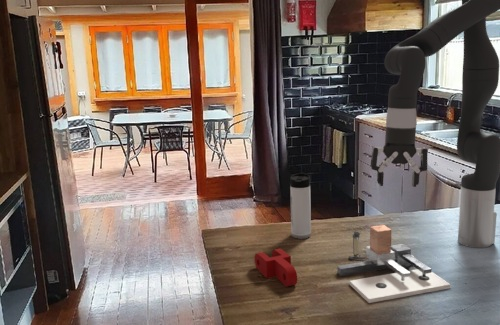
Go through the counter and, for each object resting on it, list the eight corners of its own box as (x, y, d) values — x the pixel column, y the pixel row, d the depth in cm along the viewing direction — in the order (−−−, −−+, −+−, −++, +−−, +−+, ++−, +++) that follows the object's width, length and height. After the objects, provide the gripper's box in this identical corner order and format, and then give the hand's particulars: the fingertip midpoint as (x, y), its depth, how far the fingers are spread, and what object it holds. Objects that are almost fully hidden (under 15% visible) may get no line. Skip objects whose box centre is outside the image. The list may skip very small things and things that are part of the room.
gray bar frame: (408, 259, 137) (408, 242, 136) (441, 281, 123) (442, 263, 122) (335, 271, 132) (335, 253, 131) (361, 296, 118) (362, 276, 117)
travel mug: (312, 232, 160) (312, 173, 156) (308, 239, 154) (307, 178, 150) (294, 231, 162) (293, 172, 158) (289, 238, 156) (287, 177, 152)
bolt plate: (425, 271, 130) (425, 267, 129) (450, 288, 120) (450, 283, 120) (349, 284, 124) (349, 280, 124) (369, 303, 115) (369, 298, 114)
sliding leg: (382, 257, 136) (383, 223, 134) (415, 281, 121) (416, 243, 119) (366, 259, 135) (366, 225, 132) (397, 284, 120) (398, 246, 118)
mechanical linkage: (254, 267, 137) (254, 250, 135) (278, 262, 139) (277, 246, 138) (280, 292, 122) (280, 273, 121) (305, 285, 125) (305, 267, 124)
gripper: (425, 124, 131) (421, 183, 134) (371, 123, 133) (368, 182, 136) (432, 127, 124) (428, 190, 127) (374, 126, 125) (371, 188, 128)
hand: (397, 185), depth 131 cm, fingers open, 8 cm apart
